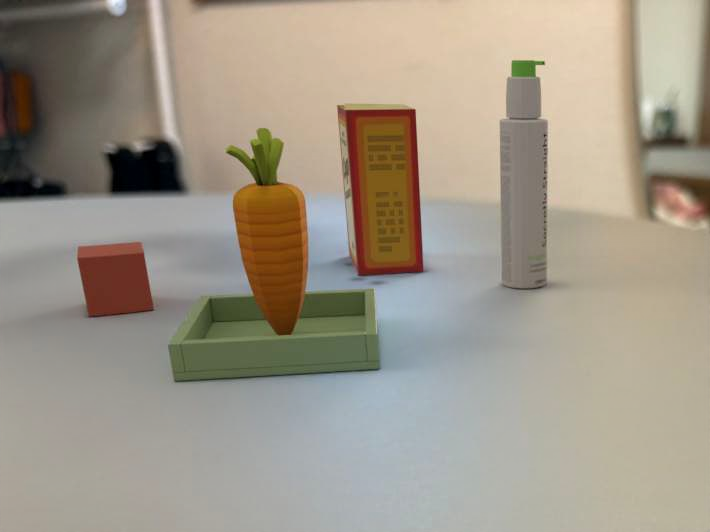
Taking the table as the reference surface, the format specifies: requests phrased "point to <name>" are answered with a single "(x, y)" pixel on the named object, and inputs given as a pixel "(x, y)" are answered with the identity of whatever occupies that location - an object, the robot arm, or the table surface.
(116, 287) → the terracotta block
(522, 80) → the bottle
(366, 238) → the baking soda box
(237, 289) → the table surface
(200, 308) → the green tray
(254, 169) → the carrot
